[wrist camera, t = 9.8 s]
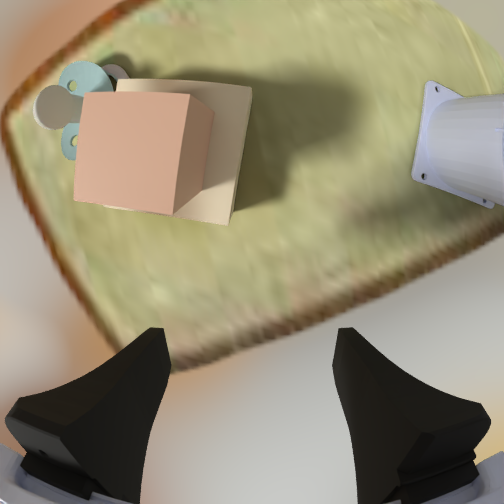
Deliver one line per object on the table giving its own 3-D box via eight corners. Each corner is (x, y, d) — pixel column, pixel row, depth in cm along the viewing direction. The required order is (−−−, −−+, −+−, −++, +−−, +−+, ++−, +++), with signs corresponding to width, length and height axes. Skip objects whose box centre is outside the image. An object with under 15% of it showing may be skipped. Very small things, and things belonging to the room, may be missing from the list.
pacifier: (135, 54, 17) (68, 75, 17) (98, 28, 11) (20, 63, 11) (140, 147, 19) (73, 162, 19) (101, 151, 13) (23, 172, 13)
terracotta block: (214, 111, 15) (190, 94, 9) (201, 190, 16) (172, 215, 11) (139, 106, 15) (84, 92, 9) (129, 180, 16) (73, 200, 11)
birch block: (252, 97, 18) (251, 87, 14) (233, 212, 20) (228, 225, 17) (139, 87, 17) (118, 79, 14) (125, 196, 20) (103, 206, 17)
